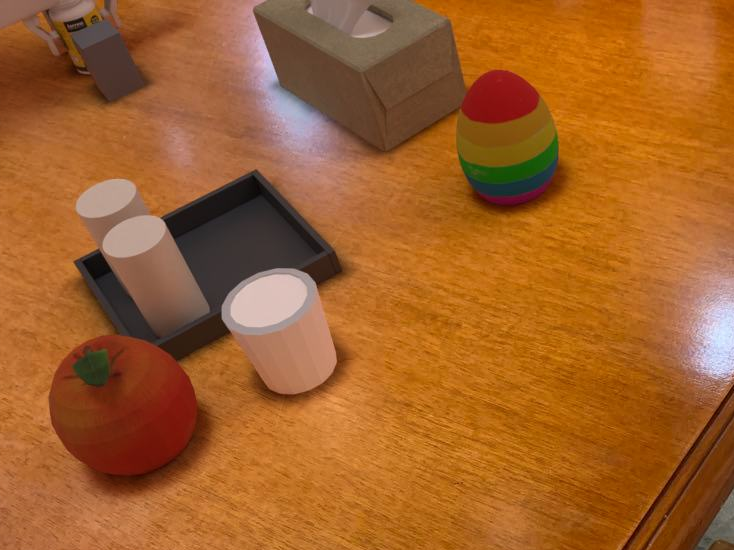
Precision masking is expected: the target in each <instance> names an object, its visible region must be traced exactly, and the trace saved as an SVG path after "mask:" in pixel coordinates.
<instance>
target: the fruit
mask: <svg viewBox="0 0 734 550" xmlns="http://www.w3.org/2000/svg"><path fill="white" fill-rule="evenodd" d="M48 408H49V409H48V410H49V415H50V422H51V426H52V428H53V430H54V431H55V434H56V435H57V437H58V439H59V441H60V442H61V443H62V445H63V446H64V448H65V450H66V451H67V452H68V453H70V455H72V456H73V457H74V458H75V459H76V460H77V461H78V462H81V463H83V464H85V465H86V466H88V467H90V468H91V469H94V470H96V471H99V472H101V473H103V474H107V475H108V474H109V475H118V476H127V477H132V476H138V475H145V474H147V473H150V472H153V471H155V470H159V469H161V468H162V467H163V466H165V465H166V464H168V463H170V462H172V461H173V460H175V459H176V457H178V456H179V455H180V454H181V453H182V452H183V451H184V450H185V448H186V446H187V445H188V444H189V442H190V441H191V438H192V436H193V433H194V431H195V427H196V423H197V420H198V402H197V395H196V392H195V388H194V386H193V384H192V380H191V378H190V376H189V375H188V373H186V371H185V370H184V369H183V367H182V366H181V365H180V364H179V363H178V361H175V359H174V358H173V357H172V356H171V355H170V354H168V353H167V352H165V351H164V350H162V349H160V348H159V347H157V346H155V345H153V344H151V343H149V342H147V341H145V340H141V339H136V338H132V337H127V336H122V335H120V334H109V335H108V334H107V335H100V336H96V337H93V338H90V339H87V340H86V341H84V342H82V343H81V344H79V345H78V346H76V347H74V348H73V349H72V350H71V351H70V352H69V353H68V354H67V355H66V356H65V357H64V358H63V359H62V360H61V362H60V364H59V366H58V367H57V369H56V371H55V372H54V375H53V379H52V382H51V385H50V389H49V393H48Z"/></svg>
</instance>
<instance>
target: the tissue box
mask: <svg viewBox="0 0 734 550" xmlns="http://www.w3.org/2000/svg"><path fill="white" fill-rule="evenodd" d="M252 13H253V15H254V18H255V21H256V23H257V26H258V29H259V32H260V35H261V38H262V40H263V43H264V45H265V48H266V50H267V53H268V55H269V59H270V61H271V64H272V66H273V69H274V72H275V74H276V77H277V79H278V83H279V85H280V87H281V88H283V89H284V90H286V91H288V92H289V93H291V94H293V95H294V96H296V97H297V98H299V99H300V100H301V101H303V102H305V103H307V104H308V105H309V106H311V107H312V108H314V109H315V110H318V111H319V112H321V113H322V114H324V115H325V116H327V117H329V119H331V120H333V121H335V122H337V123H338V124H339V125H341V126H343V127H344V128H346V129H348V130H349V131H350V132H352V133H353V134H355V135H356V136H358V137H360V138H362V139H363V140H365V141H366V142H367V143H369V144H371V145H372V146H374V147H375V148H377V149H379V150H380V151H382V152H384V153H385V152H389V151H390V150H392V149H393V148H395V147H396V146H398V145H400V144H402V143H403V142H405V141H406V140H408V139H410V138H411V137H413V136H414V135H416V134H418V133H420V132H421V131H423V130H425V129H426V128H428V127H429V126H431V125H433V124H434V123H436V122H438V121H439V120H441V119H443V118H444V117H446V116H447V115H449V114H451V113H453V112H454V111H456V110H457V109H459V108H460V107H461V105H462V102H463V100H464V97H465V95H466V94H467V92H468V91H467V88H466V83H465V78H464V74H463V70H462V66H461V61H460V56H459V51H458V47H457V42H456V38H455V34H454V29H453V24H452V21H451V20H452V19H450V18H448V17H446V16H444V15H441V14H440V13H438V12H435V11H434V10H432V9H429V8H428V7H426V6H423V5H421V4H419V3H417V2H415V1H413V0H264V1H263V2H262V1H261V2H260V3H259V4H256V5H255V6H253V8H252Z"/></svg>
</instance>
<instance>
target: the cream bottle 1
mask: <svg viewBox="0 0 734 550" xmlns="http://www.w3.org/2000/svg"><path fill="white" fill-rule="evenodd" d="M75 211H76V213H77V215H78V217H79V218H80V220H81V222H82V223H83V225H84V226H85V228H86V230H87V231H88V233H89V235H90V237H91V238H92V240H93V242H94V243H95V244H96V246H97V249H100V251H101V253H102V254H103V256H104V258H105V259H106V261H107V263H108V264H109V266H110V267H111V269H112V271H113V272H114V274H115V276H116V277H117V279H118V281H119V282H120V284H121V286H122V287H123V289H124V291H125V292H126V293H127V295H129V296H130V297H131V295H130V293H129V292H128V290H127V288H126V287H125V285H124V283H123V282H122V280H121V279H120V277H119V275H118V274H117V272H116V270H115V269H114V267H113V265H112V264H111V262H110V260H109V259H108V257H107V255H106V254H105V252H104V250H103V247H102V244H103V240H104V238H105V236H106V235H107V233H108V232H109V231H110V230H111V229H112V228H114V227H115V226H116V225H118V224H119V223H121V222H123V221H125V220H127V219H130V218H133V217H137V216H143V215H151V216H152V214H151V212H150V210H149V208H148V207H147V204H146V202H145V201H144V199H143V197H142V195H141V194H140V192H139V190H138V188H137V186H136V184H135V183H134V182H133V181H132V180H129V179H127V178H111V179H106V180H103V181H101V182H98V183H95V184H94V185H92V186H91V187H89V188H87V189H86V190H85V191H84V192H82V193H81V194H80V196H79V197H78V198H77V200H76V202H75Z"/></svg>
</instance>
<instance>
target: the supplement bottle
mask: <svg viewBox="0 0 734 550" xmlns="http://www.w3.org/2000/svg"><path fill="white" fill-rule="evenodd" d="M99 10H100V9H99V8H98V6H97V3H96V1H95V0H60V3H59V4H58V5H57V6H54V7H52V8H50V9H49V16H50V19H51V21H52V23H53V25H54V27H55V28H56V30H57V32H58V34H60V36H61V37H62V39H63V41H64V44H65V45H66V47H67V48H68V52H67V53H68V55H69V57H70V59H71V61H72V62H73V64H74V67H75V68H76V70H77V71H78V73H80V74H83V75H90V73H89V71H88V69H87V67H86V65H85V63H84V61H83V59H82V58H81V56H80V54H79V52H78V50H77V48H76V46H75V44H74V42H73V40H72V39H71V37H70V34H72V33H75V32H77V31H79V30H81V29H84V28H86V27H88V26H90V25H92V24H95V23H97V22H99V21H101V20H103V18H102V16H101V14H100V12H99Z"/></svg>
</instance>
